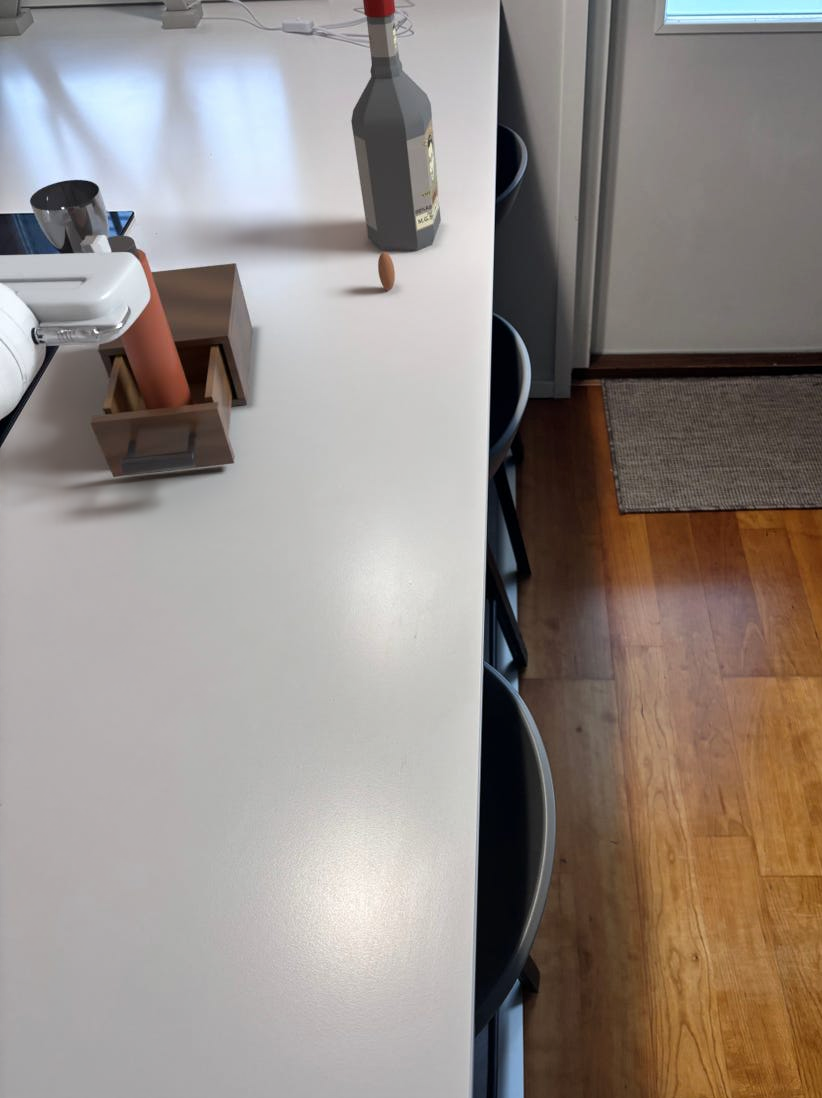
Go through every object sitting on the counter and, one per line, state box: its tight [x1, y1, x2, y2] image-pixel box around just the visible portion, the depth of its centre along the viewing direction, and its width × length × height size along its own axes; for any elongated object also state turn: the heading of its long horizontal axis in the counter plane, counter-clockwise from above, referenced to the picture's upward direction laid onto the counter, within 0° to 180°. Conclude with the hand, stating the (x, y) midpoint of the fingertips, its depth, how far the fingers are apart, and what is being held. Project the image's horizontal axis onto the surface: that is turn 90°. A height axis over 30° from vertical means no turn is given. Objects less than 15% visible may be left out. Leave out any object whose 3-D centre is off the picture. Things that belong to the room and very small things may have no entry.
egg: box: [377, 251, 396, 291], centre depth 124 cm, size 2×2×5 cm
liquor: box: [350, 0, 442, 252], centre depth 124 cm, size 9×9×30 cm
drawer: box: [89, 344, 236, 478], centre depth 103 cm, size 19×12×7 cm, turn 6°
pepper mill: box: [107, 235, 199, 410], centre depth 98 cm, size 6×6×20 cm
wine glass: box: [29, 179, 110, 254], centre depth 120 cm, size 8×8×15 cm
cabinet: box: [97, 262, 254, 407], centre depth 112 cm, size 16×14×9 cm
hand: (42, 245), depth 78 cm, fingers open, 8 cm apart
